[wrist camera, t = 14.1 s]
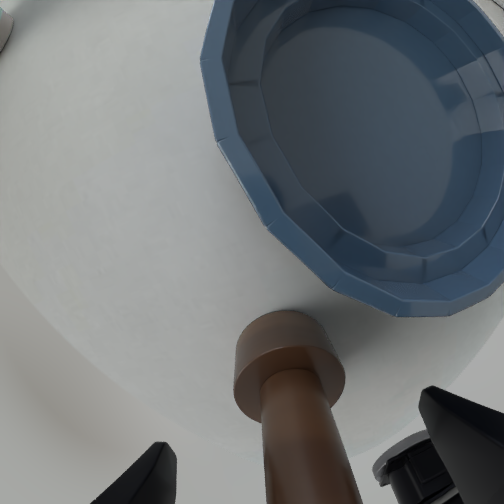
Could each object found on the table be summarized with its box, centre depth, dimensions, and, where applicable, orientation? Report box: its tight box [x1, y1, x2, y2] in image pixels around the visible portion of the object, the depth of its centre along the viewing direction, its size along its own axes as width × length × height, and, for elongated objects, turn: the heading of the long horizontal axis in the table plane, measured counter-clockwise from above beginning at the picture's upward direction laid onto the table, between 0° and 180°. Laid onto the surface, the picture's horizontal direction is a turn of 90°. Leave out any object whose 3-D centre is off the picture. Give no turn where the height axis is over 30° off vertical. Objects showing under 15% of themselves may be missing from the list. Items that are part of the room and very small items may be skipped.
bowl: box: [200, 0, 504, 317], centre depth 8 cm, size 15×15×4 cm
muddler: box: [233, 311, 363, 504], centre depth 8 cm, size 4×4×10 cm
